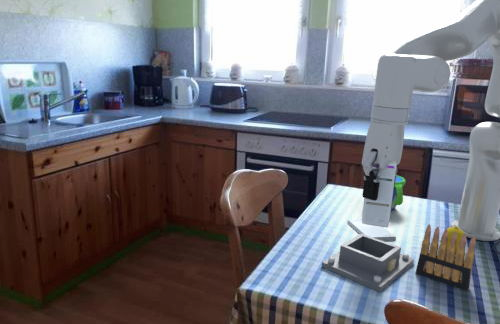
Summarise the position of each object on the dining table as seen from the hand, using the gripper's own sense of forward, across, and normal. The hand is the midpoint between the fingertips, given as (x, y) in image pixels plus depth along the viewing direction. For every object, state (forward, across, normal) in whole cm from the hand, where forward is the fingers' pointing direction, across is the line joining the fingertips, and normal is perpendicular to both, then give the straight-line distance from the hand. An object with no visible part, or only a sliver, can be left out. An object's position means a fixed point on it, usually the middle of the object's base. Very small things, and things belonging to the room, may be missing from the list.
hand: (378, 194), depth 91 cm
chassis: (+17, 0, 0) cm, 17 cm away
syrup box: (+7, 0, 0) cm, 7 cm away
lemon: (+17, -20, +12) cm, 29 cm away
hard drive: (+18, -19, -9) cm, 28 cm away
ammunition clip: (+17, -6, +14) cm, 23 cm away
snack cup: (+17, -41, -15) cm, 47 cm away
